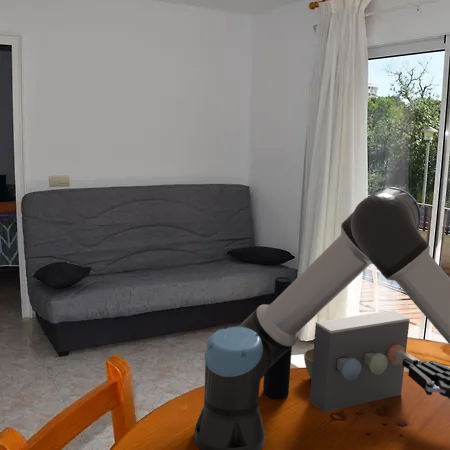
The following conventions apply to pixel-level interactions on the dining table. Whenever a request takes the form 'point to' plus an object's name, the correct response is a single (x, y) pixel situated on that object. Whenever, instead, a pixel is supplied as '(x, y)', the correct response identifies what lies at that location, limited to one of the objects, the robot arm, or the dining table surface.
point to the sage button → (376, 362)
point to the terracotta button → (393, 353)
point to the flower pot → (309, 360)
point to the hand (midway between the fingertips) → (398, 355)
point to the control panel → (356, 348)
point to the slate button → (349, 367)
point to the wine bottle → (279, 361)
